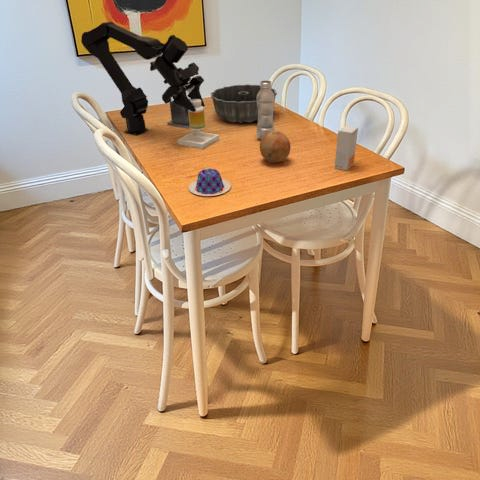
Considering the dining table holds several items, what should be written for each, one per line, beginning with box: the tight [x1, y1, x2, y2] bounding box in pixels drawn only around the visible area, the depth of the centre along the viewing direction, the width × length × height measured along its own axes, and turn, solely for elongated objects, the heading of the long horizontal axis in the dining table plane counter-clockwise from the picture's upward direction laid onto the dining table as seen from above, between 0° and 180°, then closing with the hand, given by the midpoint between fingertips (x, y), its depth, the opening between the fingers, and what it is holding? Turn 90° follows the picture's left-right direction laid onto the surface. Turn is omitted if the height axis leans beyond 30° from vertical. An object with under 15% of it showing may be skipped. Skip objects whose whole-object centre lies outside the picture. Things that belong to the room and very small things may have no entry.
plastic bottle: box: [255, 80, 276, 141], centre depth 158 cm, size 6×7×20 cm
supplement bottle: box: [188, 99, 206, 131], centre depth 158 cm, size 5×5×10 cm
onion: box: [259, 130, 291, 164], centre depth 144 cm, size 10×10×10 cm
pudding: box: [188, 168, 232, 197], centre depth 129 cm, size 12×12×5 cm
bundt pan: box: [210, 84, 278, 124], centre depth 184 cm, size 26×26×10 cm
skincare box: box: [334, 125, 359, 171], centre depth 138 cm, size 6×4×12 cm
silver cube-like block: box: [166, 98, 192, 129], centre depth 179 cm, size 10×9×9 cm
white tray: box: [177, 130, 220, 150], centre depth 162 cm, size 11×11×2 cm
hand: (199, 108), depth 156 cm, fingers closed on supplement bottle, 5 cm apart
